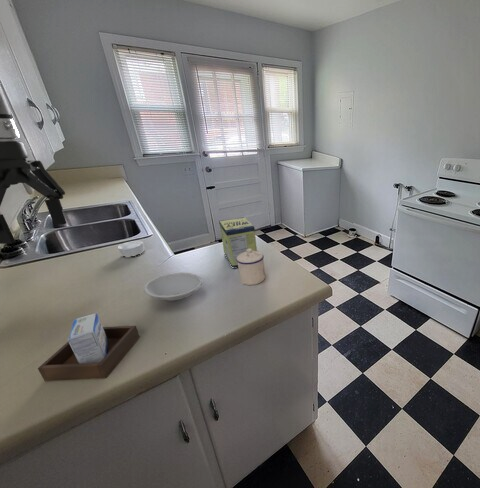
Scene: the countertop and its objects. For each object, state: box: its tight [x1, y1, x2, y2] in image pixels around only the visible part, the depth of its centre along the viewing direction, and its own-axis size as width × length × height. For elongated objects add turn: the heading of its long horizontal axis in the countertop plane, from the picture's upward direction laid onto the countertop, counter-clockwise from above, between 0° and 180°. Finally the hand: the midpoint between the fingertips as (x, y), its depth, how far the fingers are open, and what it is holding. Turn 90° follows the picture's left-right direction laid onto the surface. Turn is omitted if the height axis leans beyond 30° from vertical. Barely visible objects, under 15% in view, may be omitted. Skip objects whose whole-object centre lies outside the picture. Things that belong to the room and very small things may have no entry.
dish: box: [143, 272, 203, 302], centre depth 85 cm, size 18×14×5 cm
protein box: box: [218, 216, 258, 268], centre depth 108 cm, size 10×16×16 cm
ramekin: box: [117, 240, 145, 257], centre depth 115 cm, size 9×9×4 cm
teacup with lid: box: [236, 249, 266, 286], centre depth 95 cm, size 12×9×12 cm
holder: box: [37, 325, 141, 382], centre depth 63 cm, size 13×13×4 cm
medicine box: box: [67, 313, 108, 364], centre depth 61 cm, size 8×4×9 cm, turn 34°
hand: (36, 232), depth 66 cm, fingers open, 13 cm apart
